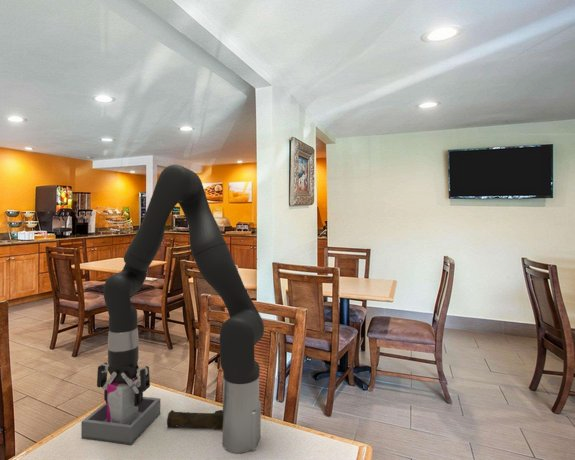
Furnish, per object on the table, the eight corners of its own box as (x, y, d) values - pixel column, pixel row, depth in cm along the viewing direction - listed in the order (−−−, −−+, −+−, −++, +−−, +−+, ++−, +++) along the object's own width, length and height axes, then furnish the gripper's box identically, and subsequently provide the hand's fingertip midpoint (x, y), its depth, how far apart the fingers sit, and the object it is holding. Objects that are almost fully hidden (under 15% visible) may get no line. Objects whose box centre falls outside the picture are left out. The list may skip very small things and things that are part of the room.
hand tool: (165, 430, 92) (165, 413, 92) (171, 421, 96) (171, 405, 96) (233, 435, 91) (234, 418, 91) (237, 426, 95) (237, 410, 95)
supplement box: (139, 419, 95) (139, 379, 95) (120, 431, 90) (120, 389, 90) (124, 414, 98) (124, 375, 97) (105, 425, 92) (105, 384, 92)
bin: (160, 413, 100) (160, 398, 99) (131, 445, 86) (131, 427, 86) (116, 408, 102) (116, 393, 102) (81, 438, 88) (81, 421, 88)
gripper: (155, 342, 95) (154, 398, 96) (108, 338, 98) (109, 394, 98) (139, 352, 88) (139, 413, 89) (89, 348, 90) (90, 408, 91)
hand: (123, 403), depth 93 cm, fingers open, 8 cm apart
